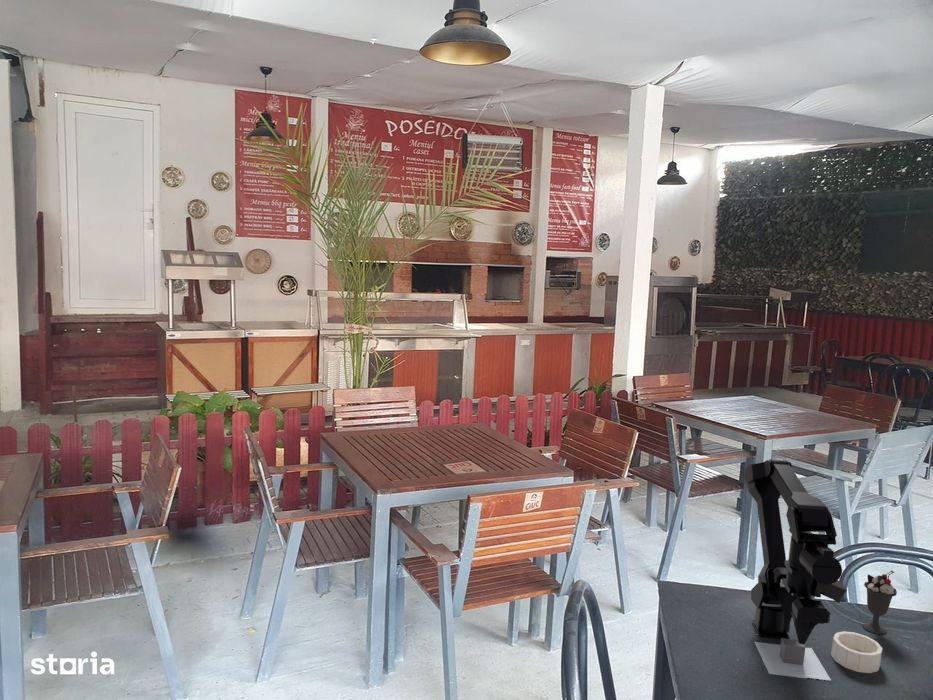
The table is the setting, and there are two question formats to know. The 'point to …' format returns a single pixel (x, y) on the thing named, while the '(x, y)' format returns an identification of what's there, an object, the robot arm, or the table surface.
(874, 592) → the sundae
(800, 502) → the robot arm
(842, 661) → the bowl
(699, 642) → the table surface
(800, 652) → the lid
